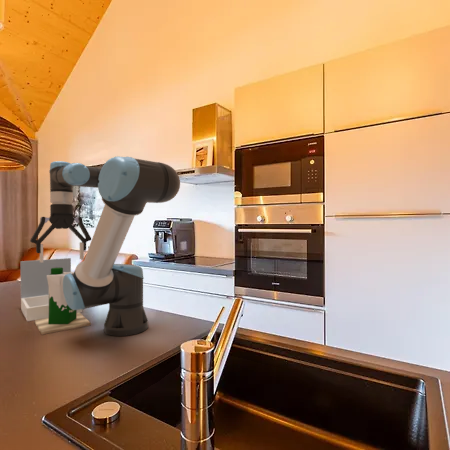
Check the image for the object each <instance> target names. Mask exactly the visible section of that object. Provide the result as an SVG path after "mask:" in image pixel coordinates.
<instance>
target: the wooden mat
mask: <svg viewBox="0 0 450 450" xmlns="http://www.w3.org/2000/svg"><path fill="white" fill-rule="evenodd" d="M48 320H49V318H44V319H38V320H34V324H35V326H36V328H37V330H38V331H39V333H40V335H47V334H52V333H58V332H62V331H67V330H73V329H80V328H85V327H88V326H91V325H92V323H91V321H90V320H88V319H87V318H86V317H85V316H84V315H83V314H82V313H81V312H80V313H77V318H76V319H75V320H73V321H72V322H70V323H69V324H48Z"/></svg>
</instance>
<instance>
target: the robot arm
mask: <svg viewBox="0 0 450 450" xmlns="http://www.w3.org/2000/svg"><path fill="white" fill-rule="evenodd" d="M48 172H49V189H50V190H49V192H50V198H49V199H50V203H51V204H50V206H49V209H50V212H49V213H50V215H49V217H48V216H47V217H46V216H41V217H40V218H39V220H40V221H39V224H38V225H37V227H36V229H35V231H34V232H33V234H32V236H31V238H30V243H33V244H35V247H36V248H35V250H36V251H35V252H36V253H37V254H39V260H40V262H41V263H43V260H44V244H43V242H44V240H45V239H46V238H47V237H48V236H49V235H50V234H51V233H52V232H54V230H55V229H57V230H61V229H62V230H65V229H66V230H67V229H69V230H70V231H71V232H72V233H73V234H74V235H75V236H76V237H77V238H78V239H79V240H80V241H81V242H79V260H82V261H81V262H79V263H78V264H77V265H76V267H75V269H74V271H73V272H74V273H72V274H71V273H69V274H66V275H65V276H64V278H63V292H64V297H65V300H66V303H67V305H68V306H69V307H70V308H71V309H73V310H80V309H82V310H86V309H90V308H95V307H99V306H102V305H108V312H107V314H106V318H105V321H104V324H103V332H104V333H105V334H106V335H108V336H114V337H126V336H131V335H132V336H133V335H137V334H141V333H143V332H145V331H147V329H148V328H149V319H148V317H147V314H146V311H145V308H144V279H145V278H144V271H143V268H142V267H141V266H140V265H135V264H123V263H116V260H117V257H119V256H118V255H119V253H120V251H121V249H122V246H123V244H124V241H125V239H126V237H127V234H128V232H129V230H130V228H131V226H132V223H133V220H134V218H135V216H138V215H141V214H142V213H143V211H144V209H145V207H146V205H147V204H148V203H149V204H150V203H152V204H161V203H166V202H169V201H171V200H173V198H174V199H175V197H176V196H177V195H178V193H179V191H180V188H181V180H180V176H179V174H178V172H177V171H176V170H175V168H174V167H172V166H171V165H169V164H166V163H164V162H160V161H159V162H157V161H151V160H146V159H139V158H135V157H132V156H118V155H117V156H113V157H111V158H109V159H108V160H106V161H105V162H104V163H103V165H102V166H101V167H94V166H89V165H85V164H83V163H80V162H73V163H71V162H69V161H68V162H67V161H60V160H58V161H51V162H50V166H49V171H48ZM73 187H84V188H97V190H98V193H99V196H100V197H101V200H102V202H103V204H104V206H103V210H102V212H101V214H100V217H99V220H98V222H97V225H96V228H95V231H94V233H93V236H92V237H91V235H90V234H89V232H88V230H87V228H86V226H85V224H84V222H83V217H82V216H77V217H74V205H73V203H74V199H73V197H74V196H73V195H74V193H73V192H74V191H73ZM48 221H49V223H51V225H50V226H49V227H48V228H47V229H46V230H45V231H44V233H43V234H42V235H41V236H40V237H39V235H40V233H41V231H42V230H43V228H44V226H45V224H46V223H48ZM74 222H75V223H77V224H78V226H79V228H80V230H81V232H82V234H83V235H84V236H83V235H82V234H81V233H80V232H79V231H78V229H77V228H76V227H75V226H74V225H73V224H74ZM38 237H39V238H38ZM37 238H38V239H37ZM87 242H90V244H89V246H88V249H87ZM86 250H87V252H86V254H84V252H85V251H86Z"/></svg>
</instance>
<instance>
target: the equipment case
mask: <svg viewBox="0 0 450 450" xmlns="http://www.w3.org/2000/svg"><path fill="white" fill-rule="evenodd" d="M19 263H20V310H21V312H22V314H23V316H24V319H25V320H26V322H30V321H31V322H32V321H35V320H39V319H45V318H49V286H48V280H47V275H49V274H51V268H59V267H60V268H63V272H72V268H71V267H72V265H71V264H72V258H71V257H66V258H52V259H43V263H41V262H40V259H35V260H24V261H23V260H22V261H19ZM82 312H83V309H80V310H77V313H80V314H81V313H82Z"/></svg>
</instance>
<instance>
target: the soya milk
mask: <svg viewBox="0 0 450 450" xmlns="http://www.w3.org/2000/svg"><path fill="white" fill-rule="evenodd" d="M69 273H71V274H72V273H74V271H73V272H72V271H71V272H63V268H60V267H59V268H51V274H49V275H47V280H48V286H49V320H48V324H69V323H70V322H72V321H73V320H75V319H76V318H77V310H73V309H71V308H70V307H69V306H68V305H67V303H66V300H65V297H64V292H63V278H64V276H65V275H66V274H69Z"/></svg>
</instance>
